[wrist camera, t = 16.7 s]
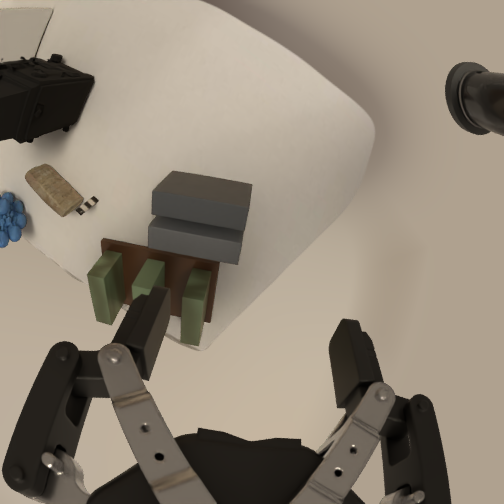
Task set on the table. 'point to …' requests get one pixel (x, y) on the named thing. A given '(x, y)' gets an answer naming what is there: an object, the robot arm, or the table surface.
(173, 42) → the table surface
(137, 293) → the green book
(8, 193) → the grapes
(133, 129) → the table surface
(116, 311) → the book rack
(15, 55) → the grey rectangular panel
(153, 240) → the grey grooved block
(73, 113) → the camera
